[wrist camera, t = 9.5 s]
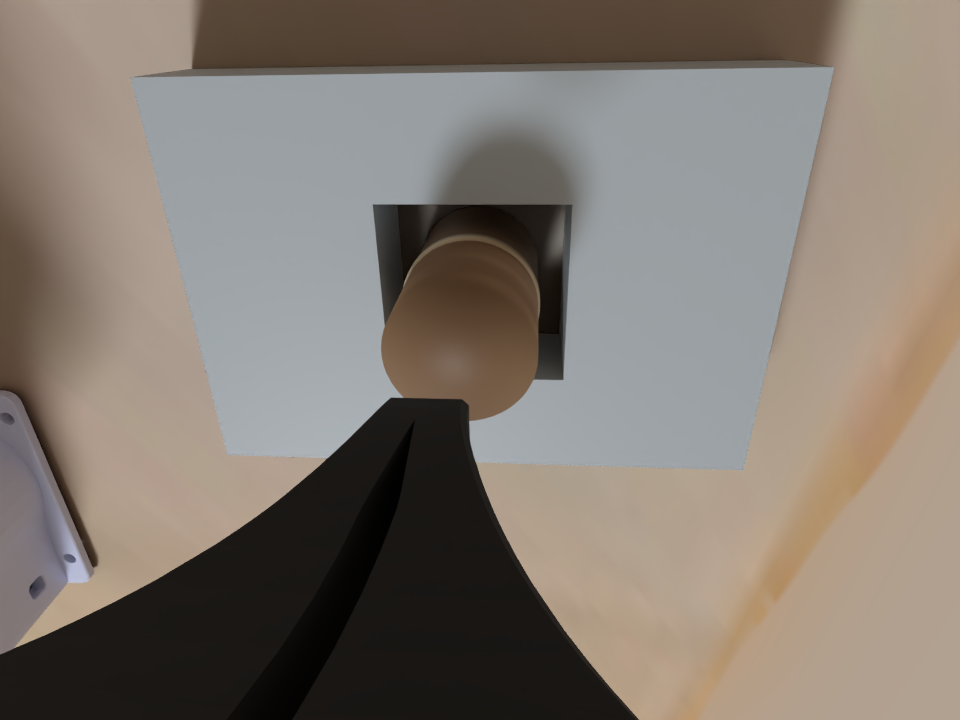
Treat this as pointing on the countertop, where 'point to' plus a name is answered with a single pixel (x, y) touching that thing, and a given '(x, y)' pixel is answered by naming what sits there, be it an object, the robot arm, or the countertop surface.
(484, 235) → the walnut peg
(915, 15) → the countertop surface
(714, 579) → the countertop surface
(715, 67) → the grey board
